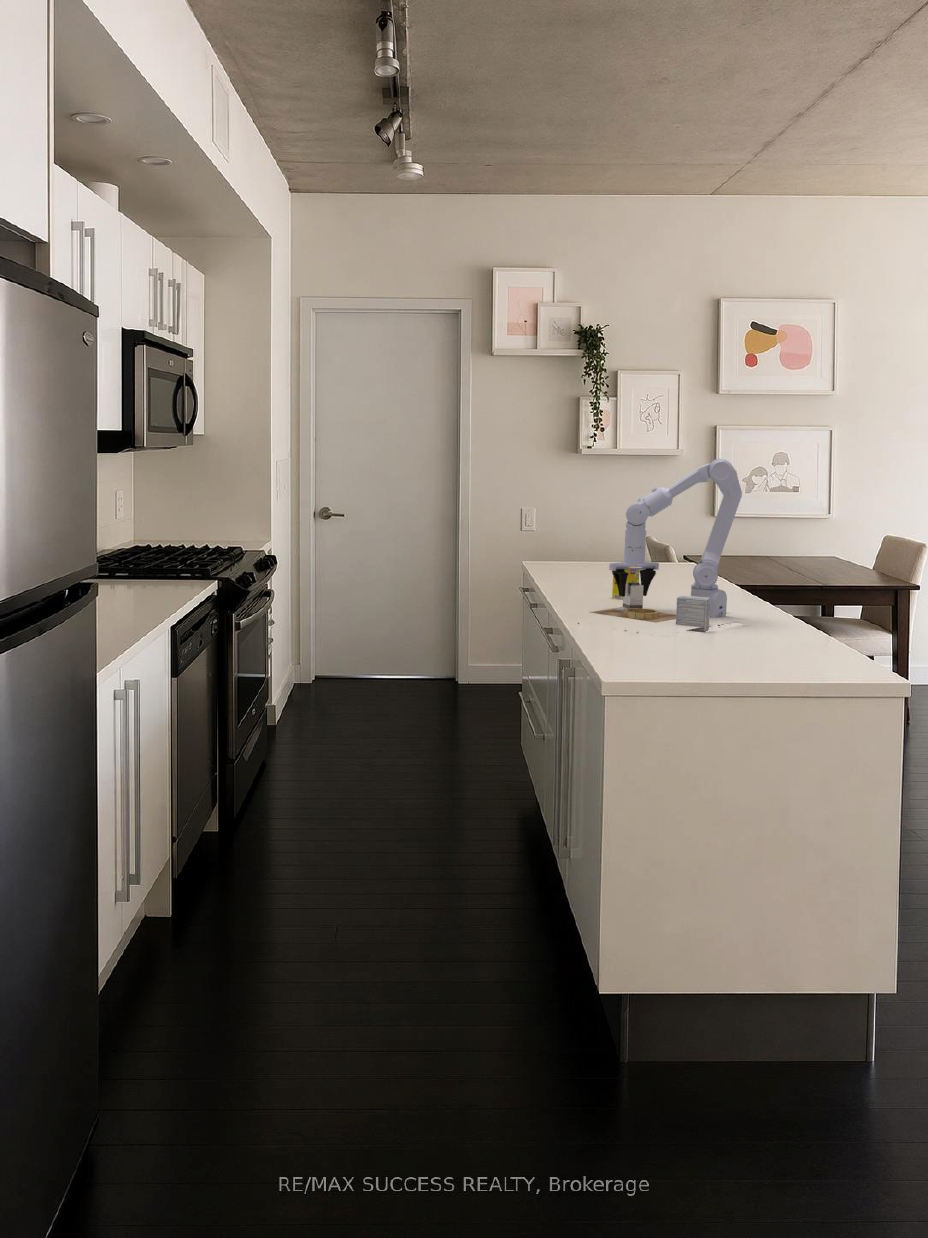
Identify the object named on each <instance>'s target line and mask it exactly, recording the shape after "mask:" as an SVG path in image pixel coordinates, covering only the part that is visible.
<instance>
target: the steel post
mask: <svg viewBox="0 0 928 1238" xmlns="http://www.w3.org/2000/svg"><path fill="white" fill-rule="evenodd" d="M643 586H644V585H641V583H640V582H639V583H638V582H628V584H626V591H625V597H623V600H622V607H623V609H631V608H643V606H644V605H643V604H644V602H643V601H644V596H643ZM643 609H644V608H643Z"/></svg>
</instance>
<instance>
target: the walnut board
mask: <svg viewBox="0 0 928 1238" xmlns="http://www.w3.org/2000/svg"><path fill="white" fill-rule="evenodd" d="M618 608H623V606H621V607H614V608H608V609H601V610H594V611H589V613H591V614H597V615H603V616H604V615H605V616H611V617H616V618H617V617H618V618H622V619H623V618H624V619H630V620H633V619H632V618H627V617H624V612H622V611H615V610H614V609H618ZM635 620H637V621H642V622H643V621H645V622H648V623H649V622H650V623H660V622H666V621H671V620H676V613H675V614H674V613H667V612H660V611H659V618H658V619H635Z"/></svg>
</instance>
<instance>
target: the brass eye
mask: <svg viewBox="0 0 928 1238" xmlns="http://www.w3.org/2000/svg"><path fill="white" fill-rule="evenodd" d="M659 612H660V610H657V609H653V608H652V609H651V608H631V609H625V610H624V617H627V618H626V619H629V618H632V619H631V620H636V619H658V618H659Z"/></svg>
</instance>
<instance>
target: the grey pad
mask: <svg viewBox="0 0 928 1238" xmlns="http://www.w3.org/2000/svg"><path fill="white" fill-rule="evenodd" d="M617 608H618V609H614V610H615V611H622V612H624V610H625V609H623V608H620V607H617Z"/></svg>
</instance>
